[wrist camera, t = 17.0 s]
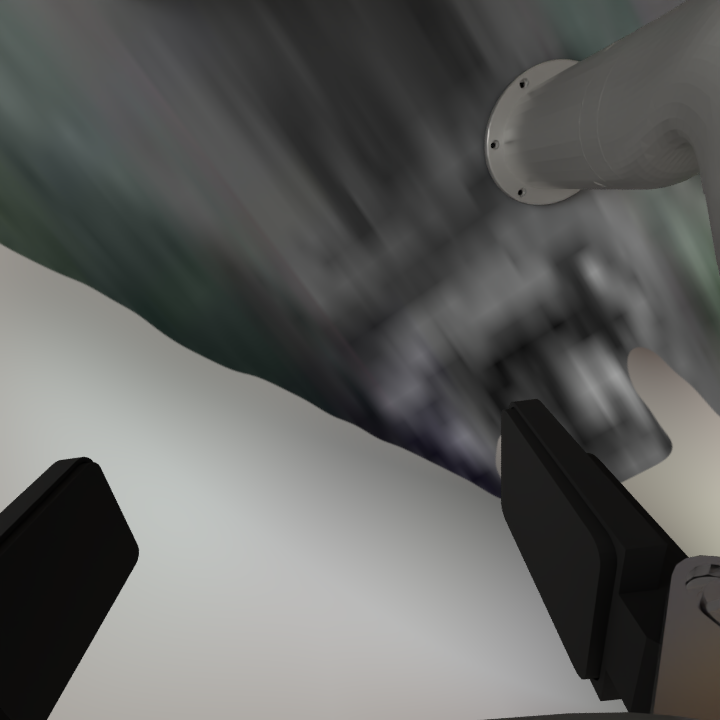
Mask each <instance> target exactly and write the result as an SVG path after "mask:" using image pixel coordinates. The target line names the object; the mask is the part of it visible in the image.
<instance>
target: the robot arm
mask: <svg viewBox="0 0 720 720" xmlns="http://www.w3.org/2000/svg"><path fill="white" fill-rule="evenodd" d="M520 83H522V84H523V88H521V87H520ZM491 143H494V145H495V146H494V148H491ZM484 151H485V158H486V164H487V167H488V170H489V173H490V175H491V177H492V178H493V180H494V182H495V184H496V185H497V186H498V187H499V188H500V189H501V190H502V192H503V193H505V194H506V195H508V196H509V197H510V198H512V199H514V200H516V201H519V202H521V203H526V204H531V205H546V204H553V203H556V202H559V201H562V200H565V199H567V198H569V197H571V196H572V195H574V194H576V193H577V192H579V191H580V190H581V189H656V188H663V187H667V186H671V185H674V184H677V183H680V182H683V181H685V180H687V179H689V178H691V177H693V176H695V175H697V174H699V173H700V176H701V182H702V188H703V192H704V194H705V196H706V202H707V208H708V214H709V219H710V225H711V231H712V237H713V243H714V249H715V255H716V261H717V265H718V269H719V275H720V0H687V1H686V2H684V3H682V4H681V5H679V6H677V7H676V8H674V9H672V10H671V11H669V12H668V13H666V14H664V15H663V16H661V17H659V18H657V19H656V20H654V21H652V22H650V23H648V24H647V25H645V26H643V27H641V28H639V29H638V30H636V31H634V32H633V33H631V34H629V35H627V36H625V37H623V38H622V39H620V40H618V41H616V42H614V43H613V44H611V45H609V46H607V47H605V48H604V49H602V50H600V51H598V52H596V53H595V54H593V55H591V56H589V57H587V58H585V59H584V60H582V61H575V60H570V59H554V60H550V61H547V62H543V63H540V64H538V65H536V66H534V67H532V68H530V69H528V70H527V71H525V72H524V73H522V74H521V75H519V76H518V77H517V78H516V79H515V80H514V81H513V82H512V83H511V84H509V85H508V87H507V88H506V89H505V91H504V92H503V93H502V94H501V96H500V97H499V99H498V100H497V102H496V104H495V106H494V108H493V109H492V112H491V115H490V117H489V120H488V123H487V128H486V133H485V145H484ZM519 190H520V191H521V194H520V195H518V191H519ZM501 505H502V511H503V514H504V517H505V520H506V522H507V524H508V526H509V529H510V531H511V533H512V535H513V537H514V539H515V541H516V544H517V546H518V548H519V550H520V552H521V554H522V557H523V559H524V561H525V563H526V565H527V567H528V570H529V572H530V574H531V576H532V578H533V580H534V582H535V585H536V587H537V589H538V591H539V593H540V595H541V597H542V599H543V602H544V604H545V606H546V608H547V610H548V613H549V615H550V617H551V619H552V621H553V623H554V625H555V628H556V629H557V632H558V634H559V636H560V638H561V641H562V643H563V645H564V647H565V649H566V651H567V653H568V656H569V658H570V660H571V662H572V664H573V666H574V668H575V670H576V672H577V674H578V675H579V677H580V678H581V679H590V681H591V683H592V685H593V687H594V689H595V691H596V693H597V695H598V697H599V699H600V701H607V700H617V699H622V701H623V703H624V705H625V706H626V708H627V710H628V712H623V713H572V714H571V713H570V714H569V713H568V714H554V715H541V716H527V717H515V718H501V719H487V720H720V557H717V556H703V555H700V556H695V557H690V558H689V557H688V556H687V555H686V554H685V553H684V552H683V551H682V550H681V549H680V548H679V546H678V545H677V544H676V543H675V542H674V541H673V540H672V539H671V538H670V537H669V535H668V534H667V533H666V532H665V531H664V530H663V529H662V528H661V527H660V526H659V525H658V523H657V522H656V521H655V520H654V519H653V518H652V517H651V516H650V515H649V514H648V513H647V511H646V510H645V509H644V508H643V507H642V506H641V505H640V504H639V503H638V501H637V500H635V498H634V497H633V496H632V495H631V494H630V493H629V492H628V491H627V489H626V488H625V487H624V486H623V485H622V484H621V483H620V482H619V481H618V480H617V478H616V477H615V476H614V475H613V474H612V473H611V472H610V471H609V470H608V469H607V467H606V466H605V465H604V464H603V463H602V462H601V461H600V460H599V459H598V458H597V457H596V456H595V455H593V454H590V453H586V452H585V451H584V450H583V449H582V448H581V447H580V445H579V444H578V443H577V442H576V441H575V440H574V439H573V438H572V436H571V435H570V434H569V433H568V432H567V431H566V430H565V428H564V427H563V426H562V425H561V424H560V423H559V422H558V421H557V419H556V418H555V417H554V416H553V415H552V414H551V413H550V412H549V410H548V409H547V408H546V407H545V406H544V405H543V404H542V403H541V401H539V400H538V399H532V400H524V401H516V402H511V403H510V405H509V409H505V410H503V411H502V415H501ZM138 556H139V548H138V545H137V543H136V541H135V539H134V536H133V534H132V532H131V530H130V528H129V526H128V524H127V522H126V520H125V518H124V516H123V513H122V511H121V509H120V507H119V505H118V503H117V501H116V499H115V497H114V495H113V493H112V491H111V488H110V486H109V484H108V482H107V480H106V478H105V476H104V474H103V472H102V470H101V468H100V466H99V465H98V464H97V463H95V462H93V461H92V460H91V459H89V458H87V457H80V458H72V459H66V460H59V461H57V462H55V463H54V464H53V465H52V466H51V467H49V468H48V469H47V470H46V471H45V472H44V473H43V474H42V475H41V476H40V477H39V478H38V479H37V480H36V481H34V482H33V483H32V484H31V485H30V486H29V487H28V488H27V489H26V490H25V491H24V492H23V493H21V494H20V495H19V496H18V497H17V498H16V499H15V500H14V501H13V502H12V503H11V504H10V505H9V506H7V507H6V508H5V509H4V510H3V511H2V512H1V513H0V720H47V719H48V717H49V715H50V713H51V712H52V710H53V708H54V706H55V705H56V703H57V701H58V699H59V698H60V696H61V694H62V692H63V691H64V689H65V687H66V685H67V684H68V682H69V680H70V678H71V677H72V675H73V673H74V671H75V670H76V668H77V666H78V664H79V663H80V661H81V659H82V657H83V656H84V654H85V652H86V650H87V649H88V647H89V645H90V643H91V642H92V640H93V638H94V636H95V635H96V633H97V631H98V629H99V628H100V626H101V624H102V622H103V621H104V619H105V617H106V615H107V613H108V612H109V610H110V608H111V607H112V605H113V603H114V601H115V600H116V598H117V596H118V594H119V593H120V591H121V589H122V587H123V585H124V584H125V582H126V580H127V578H128V577H129V575H130V573H131V572H132V570H133V568H134V566H135V565H136V563H137V560H138Z"/></svg>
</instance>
